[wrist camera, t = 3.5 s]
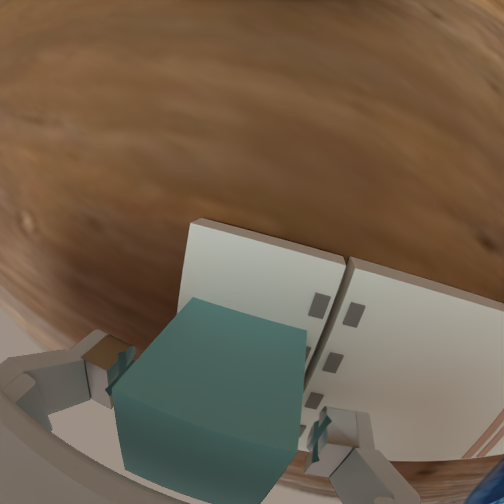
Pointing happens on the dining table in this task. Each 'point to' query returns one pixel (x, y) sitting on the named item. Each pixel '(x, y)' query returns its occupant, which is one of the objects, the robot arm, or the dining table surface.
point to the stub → (228, 366)
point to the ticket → (411, 365)
